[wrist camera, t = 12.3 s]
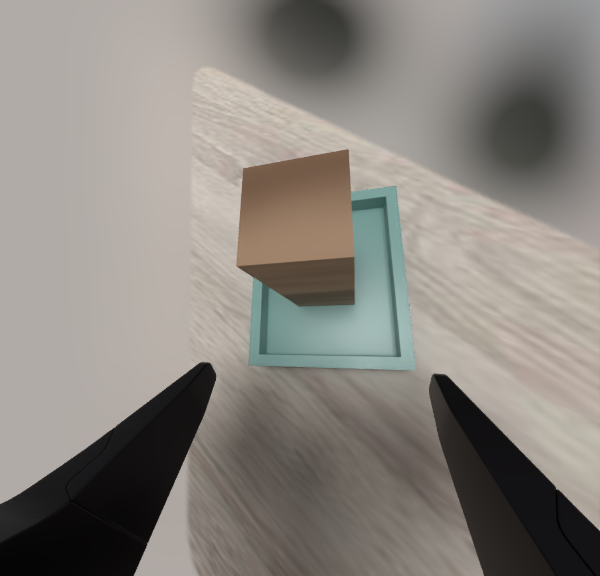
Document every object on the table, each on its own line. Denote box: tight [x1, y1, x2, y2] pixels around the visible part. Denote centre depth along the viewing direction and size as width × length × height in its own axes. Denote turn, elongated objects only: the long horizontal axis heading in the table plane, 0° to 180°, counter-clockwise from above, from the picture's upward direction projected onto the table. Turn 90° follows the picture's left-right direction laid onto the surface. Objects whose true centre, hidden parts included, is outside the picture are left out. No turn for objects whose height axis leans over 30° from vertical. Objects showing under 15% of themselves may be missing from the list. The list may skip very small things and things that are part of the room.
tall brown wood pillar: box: [236, 149, 355, 307], centre depth 14 cm, size 4×4×10 cm
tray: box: [249, 186, 416, 370], centre depth 19 cm, size 14×12×2 cm
